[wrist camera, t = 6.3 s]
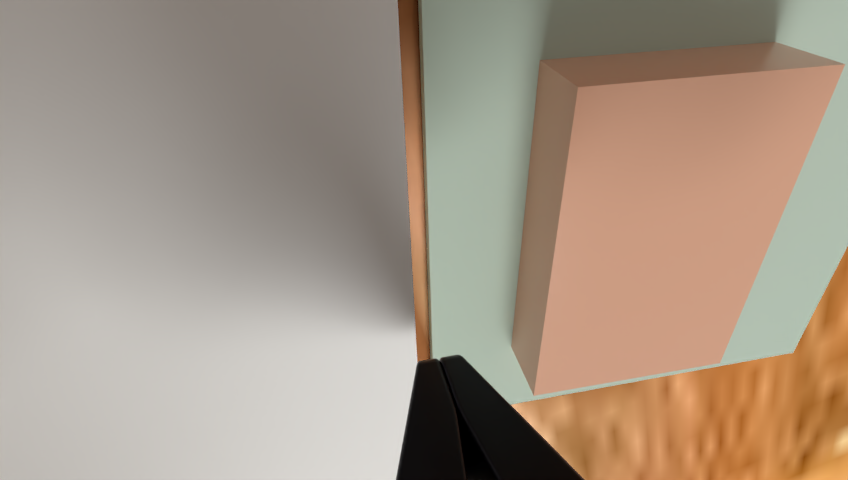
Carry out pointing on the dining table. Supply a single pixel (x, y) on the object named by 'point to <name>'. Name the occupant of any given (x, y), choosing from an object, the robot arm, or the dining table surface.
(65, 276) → the board
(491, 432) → the robot arm
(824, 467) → the dining table surface
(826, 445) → the dining table surface
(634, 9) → the mat
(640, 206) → the tile
